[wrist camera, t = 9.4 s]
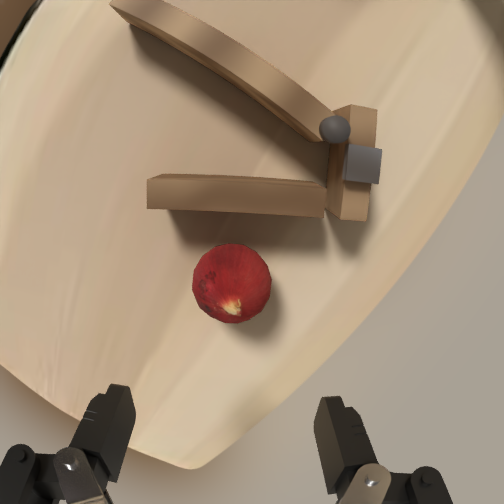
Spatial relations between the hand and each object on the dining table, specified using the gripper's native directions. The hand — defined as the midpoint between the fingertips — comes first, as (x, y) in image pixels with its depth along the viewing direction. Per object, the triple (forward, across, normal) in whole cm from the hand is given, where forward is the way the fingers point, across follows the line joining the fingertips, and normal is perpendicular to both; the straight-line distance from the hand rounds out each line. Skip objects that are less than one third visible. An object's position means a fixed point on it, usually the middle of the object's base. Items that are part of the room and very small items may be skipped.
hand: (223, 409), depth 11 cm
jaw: (+16, +2, -17) cm, 23 cm away
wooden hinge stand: (+16, -2, -9) cm, 19 cm away
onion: (+16, 0, 0) cm, 16 cm away
